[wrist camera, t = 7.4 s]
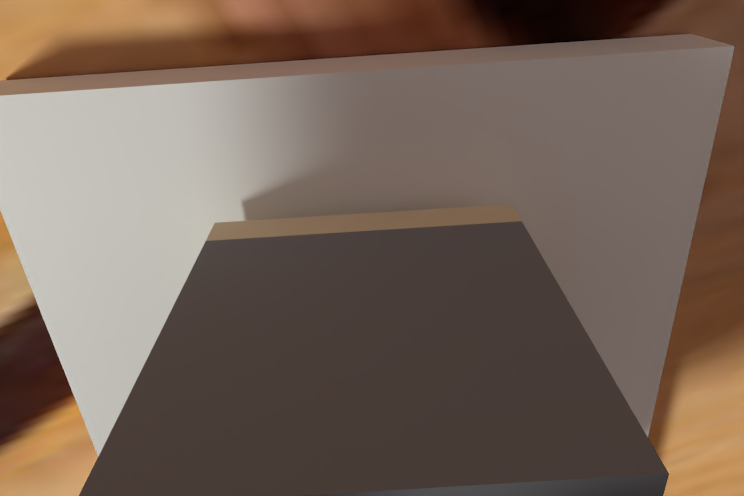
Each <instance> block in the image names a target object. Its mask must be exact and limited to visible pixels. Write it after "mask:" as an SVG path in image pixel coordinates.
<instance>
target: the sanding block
mask: <svg viewBox="0 0 744 496" xmlns="http://www.w3.org/2000/svg"><path fill="white" fill-rule="evenodd" d="M668 475H669V473H668V471H667V470H666V468H665V466H664V465H663V463H662V461H661V459H660V458H659V456H658V454H657V453H656V451H655V449H654V447H653V446H652V444H651V442H650V441H649V439H648V437H647V435H646V434H645V432H644V430H643V428H642V427H641V425H640V423H639V422H638V420H637V418H636V416H635V415H634V413H633V411H632V410H631V408H630V406H629V404H628V403H627V401H626V399H625V398H624V396H623V394H622V392H621V391H620V389H619V387H618V386H617V384H616V382H615V380H614V379H613V377H612V375H611V374H610V372H609V370H608V368H607V367H606V365H605V363H604V362H603V360H602V358H601V356H600V355H599V353H598V351H597V350H596V348H595V346H594V344H593V343H592V341H591V339H590V338H589V336H588V334H587V332H586V331H585V329H584V327H583V326H582V324H581V322H580V320H579V319H578V317H577V315H576V314H575V312H574V310H573V308H572V307H571V305H570V303H569V302H568V300H567V298H566V296H565V295H564V293H563V291H562V290H561V288H560V286H559V284H558V283H557V281H556V279H555V278H554V276H553V274H552V272H551V271H550V269H549V267H548V265H547V264H546V262H545V260H544V259H543V257H542V255H541V253H540V252H539V250H538V248H537V247H536V245H535V243H534V241H533V240H532V238H531V236H530V235H529V233H528V231H527V229H526V228H525V226H524V224H523V223H522V221H521V219H520V217H519V216H518V214H517V212H516V211H515V209H514V207H513V205H512V204H504V205H488V206H472V207H457V208H441V209H425V210H409V211H393V212H377V213H361V214H345V215H329V216H313V217H297V218H281V219H265V220H249V221H233V222H217V223H214V225H213V227H212V229H211V231H210V233H209V235H208V237H207V239H206V241H205V243H204V245H203V247H202V249H201V251H200V253H199V255H198V257H197V259H196V261H195V263H194V266H193V268H192V270H191V272H190V274H189V276H188V278H187V280H186V282H185V284H184V286H183V288H182V290H181V292H180V294H179V296H178V298H177V300H176V302H175V304H174V306H173V308H172V310H171V312H170V314H169V316H168V318H167V320H166V322H165V324H164V326H163V328H162V330H161V332H160V334H159V336H158V338H157V340H156V342H155V344H154V346H153V348H152V350H151V352H150V354H149V356H148V358H147V360H146V362H145V364H144V366H143V368H142V370H141V372H140V374H139V376H138V378H137V380H136V382H135V384H134V386H133V388H132V390H131V392H130V394H129V396H128V398H127V400H126V402H125V404H124V406H123V408H122V410H121V412H120V414H119V416H118V418H117V420H116V422H115V424H114V426H113V428H112V430H111V432H110V434H109V436H108V438H107V440H106V442H105V445H104V447H103V449H102V451H101V453H100V455H99V457H98V459H97V461H96V463H95V465H94V467H93V469H92V471H91V473H90V475H89V477H88V479H87V481H86V483H85V485H84V487H83V489H82V491H81V493H80V495H79V496H663V494H664V490H665V487H666V483H667V479H668Z"/></svg>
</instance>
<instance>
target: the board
mask: <svg viewBox="0 0 744 496" xmlns="http://www.w3.org/2000/svg"><path fill="white" fill-rule="evenodd" d="M734 48H735V46H733V45H730V44H726V43H723V42H719V41H715V40H712V39H708V38H705V37H701V36H698V35H694V34H681V35H666V36H651V37H636V38H622V39H607V40H592V41H577V42H563V43H548V44H533V45H518V46H504V47H489V48H474V49H459V50H445V51H430V52H415V53H400V54H385V55H371V56H356V57H341V58H326V59H312V60H297V61H282V62H267V63H253V64H238V65H223V66H208V67H194V68H179V69H164V70H149V71H135V72H120V73H105V74H90V75H75V76H61V77H46V78H31V79H16V80H2V81H0V210H1V213H2V216H3V218H4V221H5V223H6V226H7V228H8V231H9V233H10V236H11V238H12V241H13V243H14V246H15V248H16V251H17V253H18V256H19V258H20V261H21V263H22V266H23V268H24V271H25V274H26V276H27V279H28V281H29V284H30V286H31V289H32V291H33V294H34V296H35V299H36V301H37V304H38V306H39V309H40V311H41V314H42V316H43V319H44V321H45V324H46V326H47V329H48V331H49V334H50V337H51V339H52V342H53V344H54V347H55V349H56V352H57V354H58V357H59V359H60V362H61V364H62V367H63V369H64V372H65V374H66V377H67V379H68V382H69V384H70V387H71V389H72V392H73V394H74V397H75V400H76V402H77V405H78V407H79V410H80V412H81V415H82V417H83V420H84V422H85V425H86V427H87V430H88V432H89V435H90V437H91V440H92V442H93V445H94V447H95V450H96V452H97V455H98V457H99V455H100V453H101V451H102V449H103V447H104V445H105V442H106V440H107V438H108V436H109V434H110V432H111V430H112V428H113V426H114V424H115V422H116V420H117V418H118V416H119V414H120V412H121V410H122V408H123V406H124V404H125V402H126V400H127V398H128V396H129V394H130V392H131V390H132V388H133V386H134V384H135V382H136V380H137V378H138V376H139V374H140V372H141V370H142V368H143V366H144V364H145V362H146V360H147V358H148V356H149V354H150V352H151V350H152V348H153V346H154V344H155V342H156V340H157V338H158V336H159V334H160V332H161V330H162V328H163V326H164V324H165V322H166V320H167V318H168V316H169V314H170V312H171V310H172V308H173V306H174V304H175V302H176V300H177V298H178V296H179V294H180V292H181V290H182V288H183V286H184V284H185V282H186V280H187V278H188V276H189V274H190V272H191V270H192V268H193V266H194V263H195V261H196V259H197V257H198V255H199V253H200V251H201V249H202V247H203V245H204V243H205V241H206V239H207V237H208V235H209V233H210V231H211V229H212V227H213V225H214V223H217V222H233V221H249V220H265V219H281V218H297V217H313V216H329V215H345V214H361V213H377V212H393V211H409V210H425V209H441V208H457V207H472V206H488V205H504V204H512V205H513V207H514V209H515V211H516V212H517V214H518V216H519V217H520V219H521V221H522V223H523V224H524V226H525V228H526V229H527V231H528V233H529V235H530V236H531V238H532V240H533V241H534V243H535V245H536V247H537V248H538V250H539V252H540V253H541V255H542V257H543V259H544V260H545V262H546V264H547V265H548V267H549V269H550V271H551V272H552V274H553V276H554V278H555V279H556V281H557V283H558V284H559V286H560V288H561V290H562V291H563V293H564V295H565V296H566V298H567V300H568V302H569V303H570V305H571V307H572V308H573V310H574V312H575V314H576V315H577V317H578V319H579V320H580V322H581V324H582V326H583V327H584V329H585V331H586V332H587V334H588V336H589V338H590V339H591V341H592V343H593V344H594V346H595V348H596V350H597V351H598V353H599V355H600V356H601V358H602V360H603V362H604V363H605V365H606V367H607V368H608V370H609V372H610V374H611V375H612V377H613V379H614V380H615V382H616V384H617V386H618V387H619V389H620V391H621V392H622V394H623V396H624V398H625V399H626V401H627V403H628V404H629V406H630V408H631V410H632V411H633V413H634V415H635V416H636V418H637V420H638V422H639V423H640V425H641V427H642V428H643V430H644V432H645V434H646V435H647V437H648V435H649V430H650V426H651V421H652V417H653V412H654V408H655V403H656V399H657V394H658V390H659V385H660V381H661V376H662V372H663V367H664V363H665V358H666V354H667V349H668V345H669V340H670V336H671V331H672V327H673V322H674V318H675V313H676V309H677V304H678V300H679V295H680V291H681V286H682V282H683V278H684V273H685V269H686V264H687V260H688V255H689V251H690V246H691V242H692V237H693V233H694V228H695V224H696V219H697V215H698V210H699V206H700V201H701V197H702V192H703V188H704V183H705V179H706V174H707V170H708V165H709V161H710V156H711V152H712V147H713V143H714V138H715V134H716V129H717V125H718V120H719V116H720V111H721V107H722V102H723V98H724V93H725V89H726V84H727V80H728V75H729V71H730V66H731V62H732V57H733V53H734Z"/></svg>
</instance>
